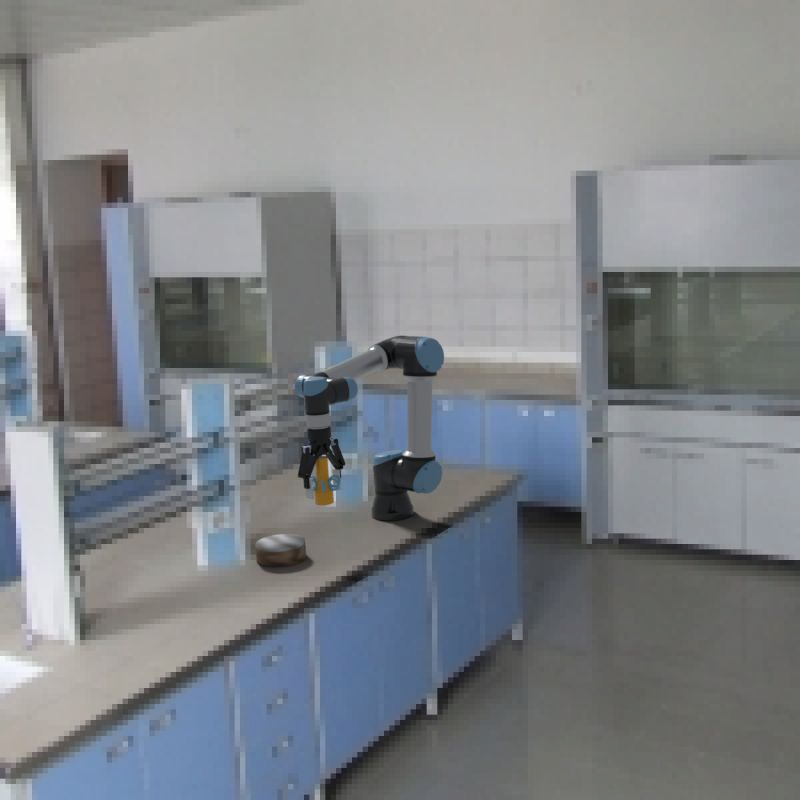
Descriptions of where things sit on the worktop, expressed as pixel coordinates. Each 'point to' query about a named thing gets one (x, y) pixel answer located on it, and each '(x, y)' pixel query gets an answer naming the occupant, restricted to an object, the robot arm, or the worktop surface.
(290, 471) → the worktop surface
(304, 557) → the pedestal
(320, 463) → the orange upright piece
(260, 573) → the worktop surface
